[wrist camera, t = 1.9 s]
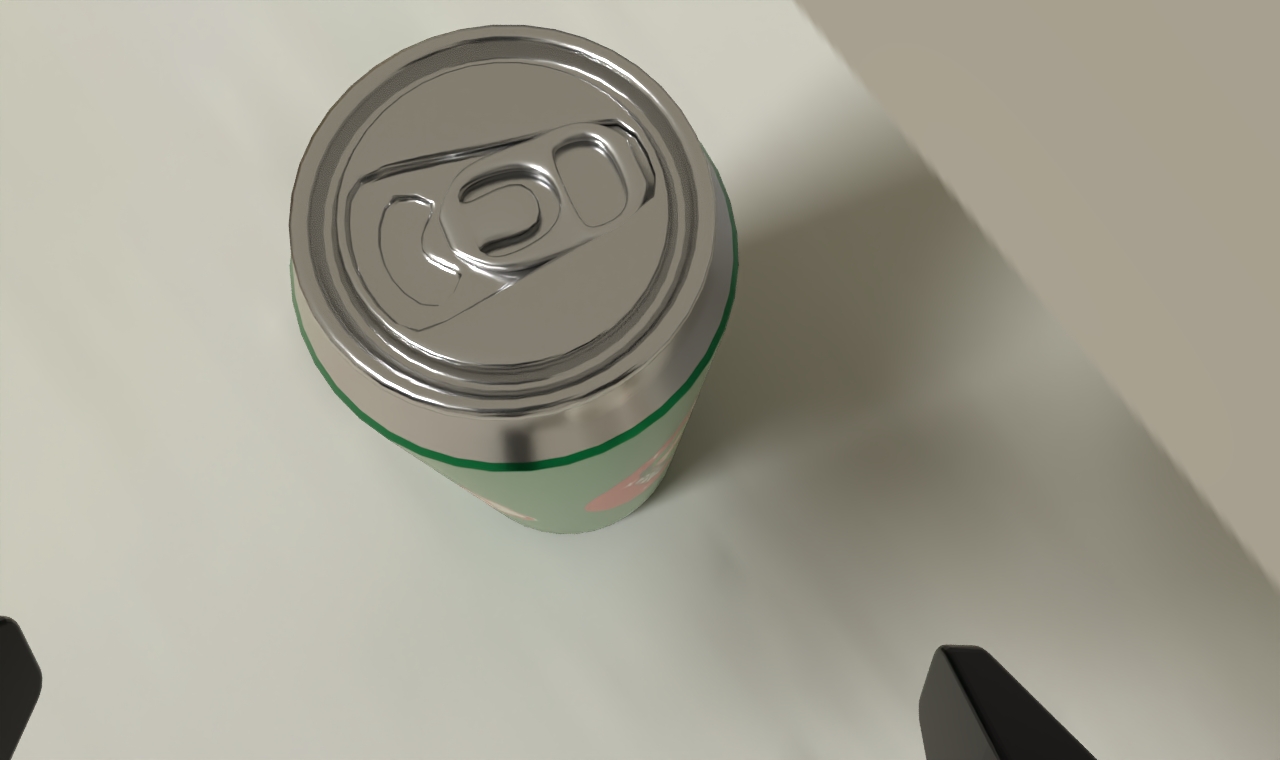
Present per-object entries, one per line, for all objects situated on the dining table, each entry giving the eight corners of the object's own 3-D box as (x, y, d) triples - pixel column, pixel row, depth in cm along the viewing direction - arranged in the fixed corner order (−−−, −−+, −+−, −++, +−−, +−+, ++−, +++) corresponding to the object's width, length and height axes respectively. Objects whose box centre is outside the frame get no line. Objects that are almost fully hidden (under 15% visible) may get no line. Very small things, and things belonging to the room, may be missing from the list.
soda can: (433, 374, 20) (185, 85, 9) (625, 296, 21) (634, -71, 9) (509, 571, 19) (342, 543, 8) (709, 483, 20) (839, 333, 8)
